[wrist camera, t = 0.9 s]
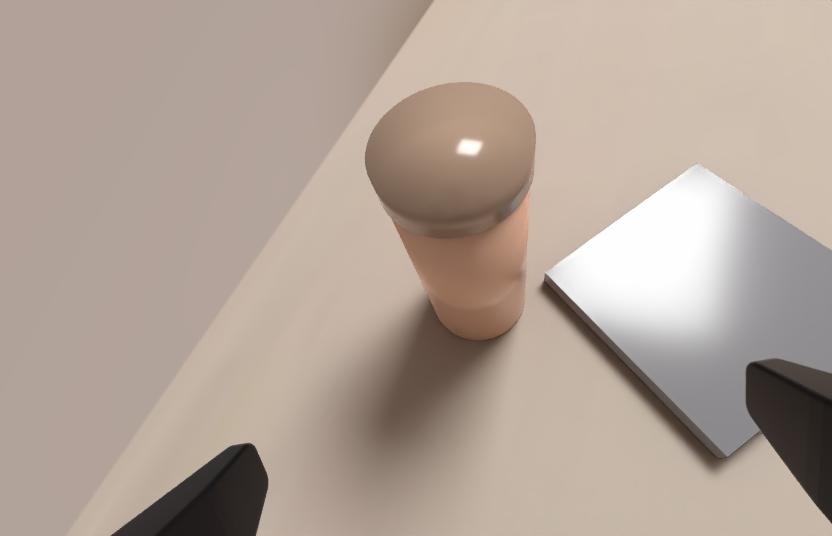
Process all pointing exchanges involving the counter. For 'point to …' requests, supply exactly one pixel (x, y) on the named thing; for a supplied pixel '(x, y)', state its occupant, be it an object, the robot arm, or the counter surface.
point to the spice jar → (460, 199)
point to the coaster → (703, 299)
